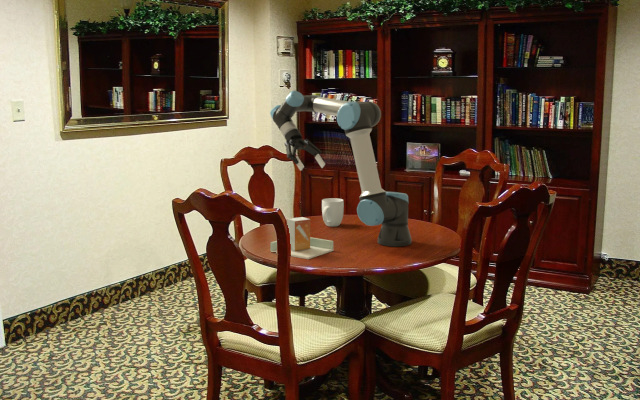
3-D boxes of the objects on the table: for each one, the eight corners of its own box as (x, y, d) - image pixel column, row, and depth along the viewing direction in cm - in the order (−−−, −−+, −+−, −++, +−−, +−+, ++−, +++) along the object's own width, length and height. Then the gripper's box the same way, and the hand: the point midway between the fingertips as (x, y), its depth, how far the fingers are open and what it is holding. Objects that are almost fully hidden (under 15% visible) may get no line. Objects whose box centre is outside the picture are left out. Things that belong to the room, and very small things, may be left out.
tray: (333, 250, 287) (333, 240, 286) (308, 259, 273) (308, 249, 272) (296, 244, 299) (296, 235, 298) (270, 252, 284) (270, 242, 283)
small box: (294, 251, 282) (294, 221, 280) (286, 248, 287) (286, 218, 285) (310, 248, 287) (310, 218, 285) (302, 245, 292) (302, 216, 290)
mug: (333, 229, 329) (333, 203, 327) (314, 227, 335) (314, 201, 333) (347, 224, 342) (347, 199, 340) (328, 222, 348) (328, 197, 345)
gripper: (306, 137, 328) (328, 170, 320) (267, 140, 311) (289, 175, 303) (314, 126, 324) (336, 160, 316) (274, 129, 307) (296, 164, 298)
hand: (313, 167), depth 309 cm, fingers open, 13 cm apart
